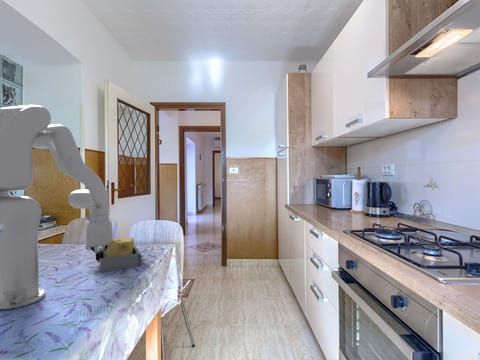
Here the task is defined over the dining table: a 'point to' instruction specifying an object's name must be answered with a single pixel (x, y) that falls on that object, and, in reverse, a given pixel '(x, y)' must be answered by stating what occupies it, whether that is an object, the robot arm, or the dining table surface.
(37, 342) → the dining table surface
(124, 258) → the bin
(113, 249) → the cheese
